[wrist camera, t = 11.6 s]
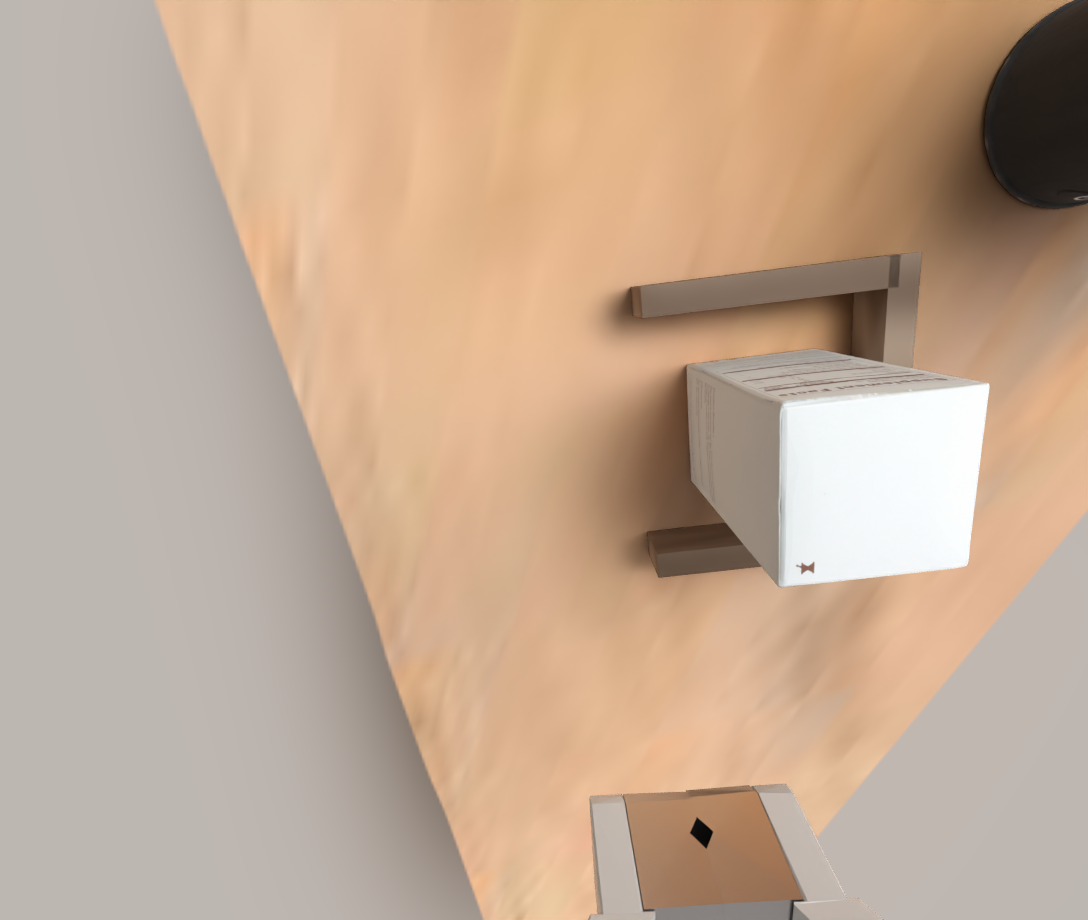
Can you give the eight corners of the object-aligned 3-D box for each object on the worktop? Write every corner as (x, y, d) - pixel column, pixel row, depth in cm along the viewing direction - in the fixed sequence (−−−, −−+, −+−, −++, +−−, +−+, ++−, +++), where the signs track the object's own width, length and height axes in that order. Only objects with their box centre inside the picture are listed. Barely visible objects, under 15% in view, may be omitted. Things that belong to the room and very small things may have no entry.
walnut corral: (630, 287, 29) (640, 286, 26) (884, 255, 29) (922, 251, 26) (648, 553, 34) (658, 577, 31) (866, 529, 34) (897, 551, 31)
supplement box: (811, 469, 33) (972, 575, 20) (687, 482, 33) (774, 594, 21) (817, 344, 30) (1000, 380, 18) (684, 358, 30) (778, 403, 18)
